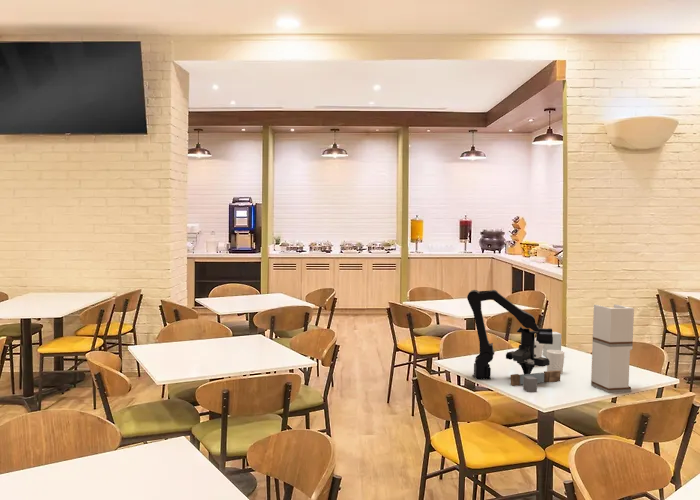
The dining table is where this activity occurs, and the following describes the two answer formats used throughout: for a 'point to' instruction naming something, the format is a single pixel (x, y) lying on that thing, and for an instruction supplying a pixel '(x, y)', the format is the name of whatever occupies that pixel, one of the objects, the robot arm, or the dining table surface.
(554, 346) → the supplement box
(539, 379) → the door
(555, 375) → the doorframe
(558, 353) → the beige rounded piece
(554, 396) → the dining table surface
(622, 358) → the striped white pillar
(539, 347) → the foam cup
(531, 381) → the block
